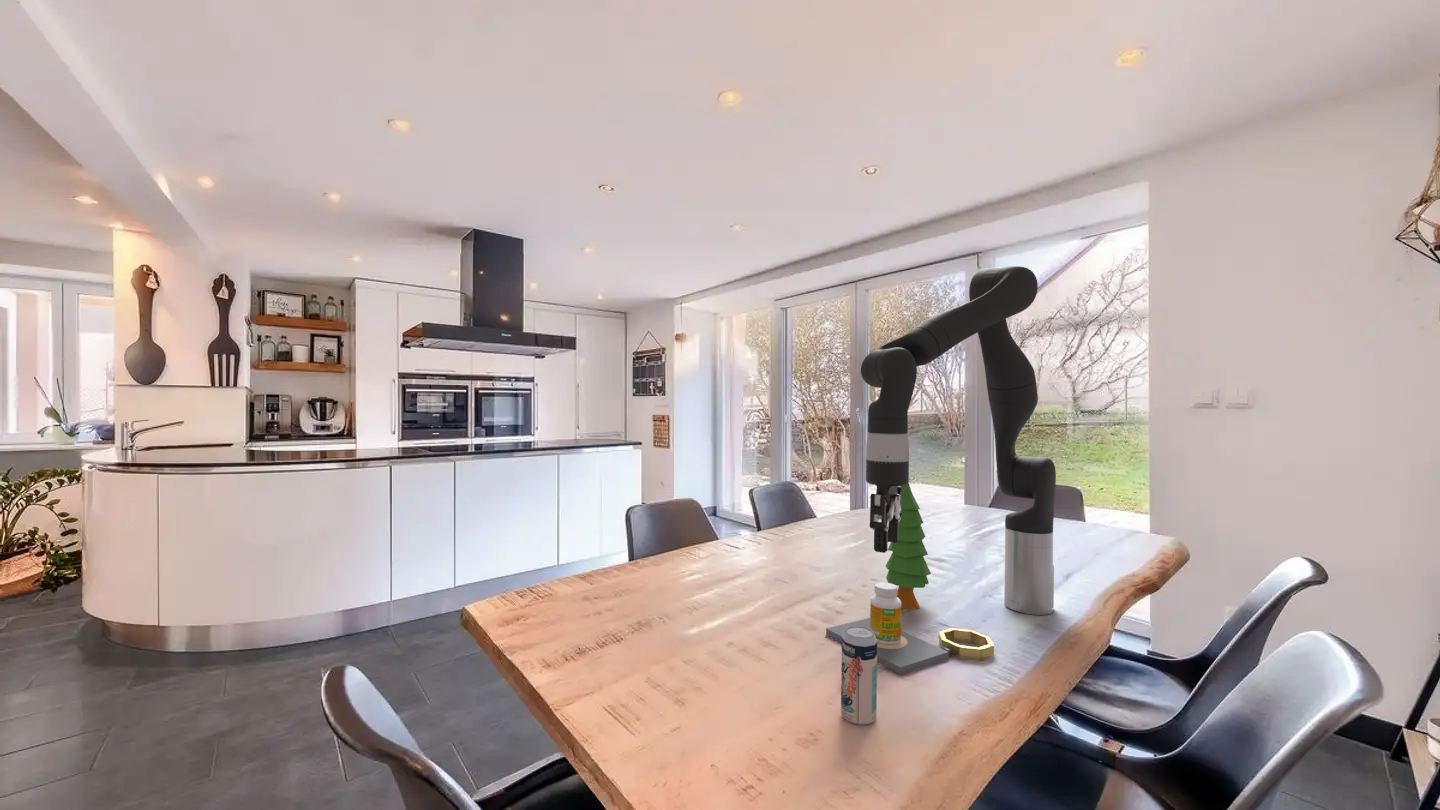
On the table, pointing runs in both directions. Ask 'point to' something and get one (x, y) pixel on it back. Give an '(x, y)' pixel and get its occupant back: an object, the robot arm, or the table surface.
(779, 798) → the table surface
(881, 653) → the board
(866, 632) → the beer can
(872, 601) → the supplement bottle
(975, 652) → the collar
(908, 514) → the decorative tree
